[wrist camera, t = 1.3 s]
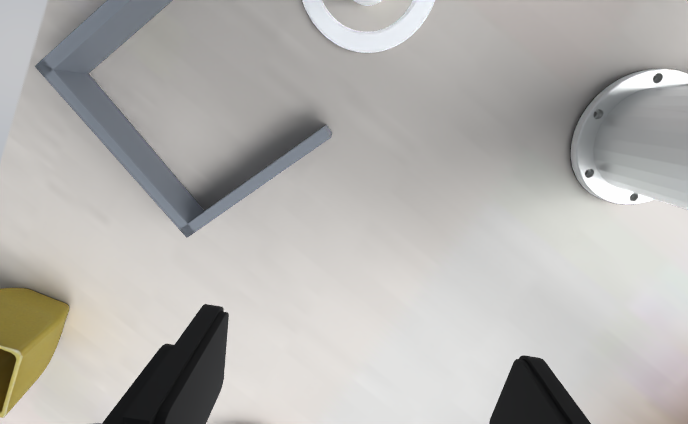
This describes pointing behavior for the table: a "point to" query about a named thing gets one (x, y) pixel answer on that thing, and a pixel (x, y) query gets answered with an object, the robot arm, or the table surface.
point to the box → (117, 132)
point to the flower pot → (26, 340)
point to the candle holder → (368, 40)
